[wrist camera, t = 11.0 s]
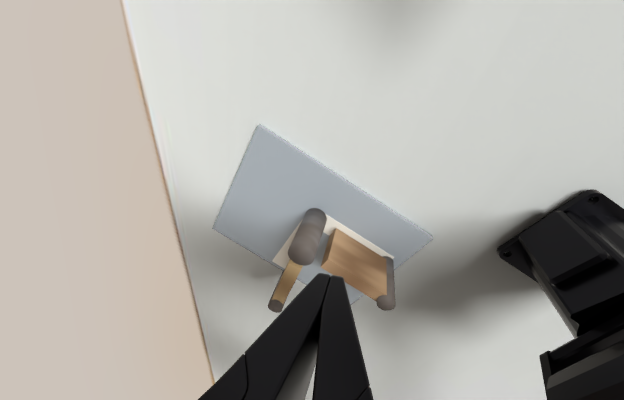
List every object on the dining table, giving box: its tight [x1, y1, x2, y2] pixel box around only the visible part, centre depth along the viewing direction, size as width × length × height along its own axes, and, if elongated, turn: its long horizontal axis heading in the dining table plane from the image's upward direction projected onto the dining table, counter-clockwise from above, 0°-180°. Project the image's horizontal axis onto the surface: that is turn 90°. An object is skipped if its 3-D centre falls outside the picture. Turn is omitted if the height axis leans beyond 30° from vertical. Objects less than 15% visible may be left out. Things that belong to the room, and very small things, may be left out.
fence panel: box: [268, 259, 303, 312], centre depth 21 cm, size 6×1×4 cm, turn 160°
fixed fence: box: [288, 208, 395, 310], centre depth 19 cm, size 8×2×5 cm, turn 60°
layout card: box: [212, 124, 433, 305], centre depth 22 cm, size 15×11×1 cm
